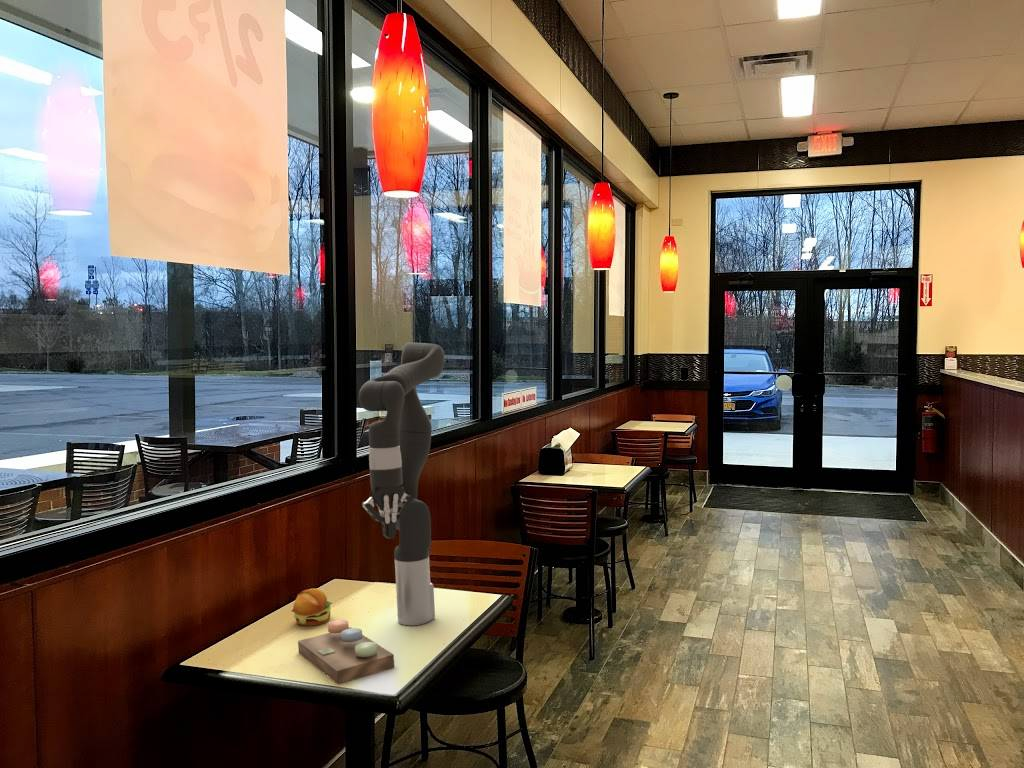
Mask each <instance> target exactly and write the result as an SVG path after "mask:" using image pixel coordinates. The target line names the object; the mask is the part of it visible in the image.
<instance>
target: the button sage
mask: <svg viewBox="0 0 1024 768" xmlns="http://www.w3.org/2000/svg"><path fill="white" fill-rule="evenodd" d="M374 642H375V641H373V642H364V643H360V644H358V645H356V646H355V655H356V656H358V657H369V656H372V655H375V654H376V653H377V644H378V643H376V642H375V643H374Z"/></svg>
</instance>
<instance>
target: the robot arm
mask: <svg viewBox="0 0 1024 768" xmlns="http://www.w3.org/2000/svg"><path fill="white" fill-rule="evenodd" d="M400 360H401V361H400V364H399V365H398V366H395V367H393V368H392V369H390V370H389V371H388V372H386V373H385V374H384V375H381V376H377V377H374V378H371V379H369V380H368V381H365V382H364V384H363V385H361V388H360V389H359V393H358V401H359V405H360V406H361V407H362V408H363V409H364V410H365V411H368V412H386V415H385V417H384V419H383V420H378V421H374V422H372V423H370V424H369V426H368V442H369V454H368V461H369V463H368V465H369V478H370V479H369V480H370V488H371V489H370V493H369V498H368V499H367V500H366V501H362V502H361V507H362V508H363V509H364V510H365V511H366V513H367V514H368V515H369V516H370V517H371V518H372V519H373V520H374V521H375V522H379V523H381V526H382V527H381V529H382V535H383V537H385V538H386V539H388V540H390V539H394V538H395V536H396V534H397V531H399V532H398V533H399V539H398V541H399V544H398V545H397V546H396V547H395V548H394V569H395V570H394V571H395V590H396V608H397V611H396V612H397V622H398V624H400V625H404V626H419V625H424V624H427V623H430V622H431V621H432V620H435V619H436V613H435V612H436V610H435V591H434V589H435V588H434V584H433V583H432V582H431V571H430V570H431V569H430V555H429V554H430V548H431V546H432V545H431V543H432V517H431V513H430V508H429V506H428V505H427V504H426V503H425V502H423V501H422V500H419V499H418V493H419V492H418V491H419V490H418V489H419V480H420V476H421V473H422V470H423V468H424V466H425V464H426V462H427V459H428V458H429V454H430V449H431V443H432V432H433V431H432V423H431V420H430V417H429V415H428V413H427V411H426V409H425V408H424V406H423V403H422V402H421V400H420V397H419V394H418V392H417V391H418V390H417V387H418V386H419V385H421V384H423V383H426V382H427V381H430V380H431V379H435V378H437V377H438V376H440V375H441V373H443V370H444V367H445V361H446V359H445V352H444V349H443V348H442V346H441V345H439V344H436V343H426V342H414V341H413V342H407V343H405V344H404V346H403V348H402V352H401V359H400ZM375 506H376V507H377V508H378V511H377V510H376V509H375V508H374V507H375Z"/></svg>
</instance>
